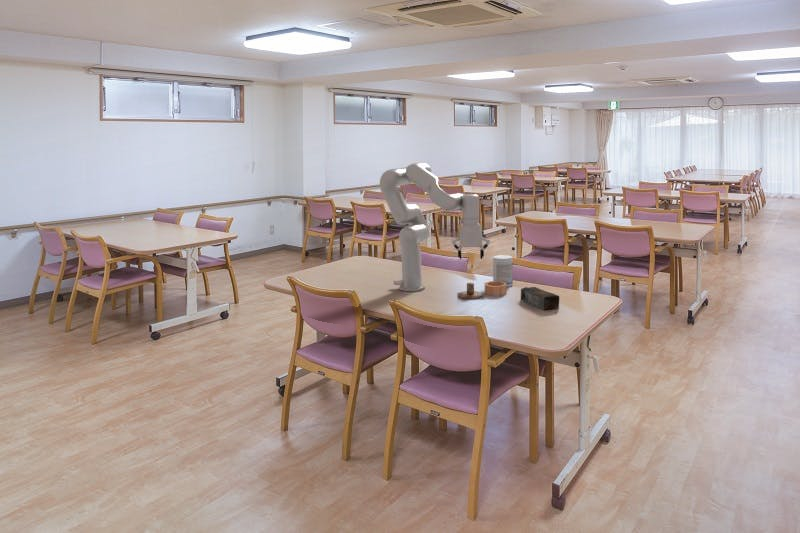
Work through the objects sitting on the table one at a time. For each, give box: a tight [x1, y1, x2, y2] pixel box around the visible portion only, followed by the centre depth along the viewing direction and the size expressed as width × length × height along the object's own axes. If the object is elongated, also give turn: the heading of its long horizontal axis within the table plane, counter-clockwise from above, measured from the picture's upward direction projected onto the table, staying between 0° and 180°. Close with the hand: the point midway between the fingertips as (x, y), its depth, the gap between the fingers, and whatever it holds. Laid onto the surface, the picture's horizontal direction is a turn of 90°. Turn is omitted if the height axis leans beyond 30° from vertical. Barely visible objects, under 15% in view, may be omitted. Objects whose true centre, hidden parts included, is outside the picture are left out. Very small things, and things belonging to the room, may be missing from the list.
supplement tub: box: [492, 254, 514, 287], centre depth 300 cm, size 10×10×15 cm
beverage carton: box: [520, 286, 560, 312], centre depth 266 cm, size 8×19×7 cm, turn 21°
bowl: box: [484, 281, 508, 297], centre depth 285 cm, size 10×10×5 cm
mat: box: [456, 292, 485, 301], centre depth 282 cm, size 12×12×1 cm
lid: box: [458, 282, 483, 299], centre depth 281 cm, size 11×11×6 cm
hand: (470, 258), depth 278 cm, fingers open, 9 cm apart
